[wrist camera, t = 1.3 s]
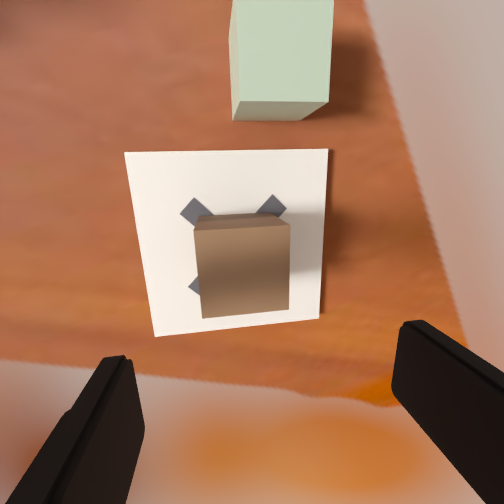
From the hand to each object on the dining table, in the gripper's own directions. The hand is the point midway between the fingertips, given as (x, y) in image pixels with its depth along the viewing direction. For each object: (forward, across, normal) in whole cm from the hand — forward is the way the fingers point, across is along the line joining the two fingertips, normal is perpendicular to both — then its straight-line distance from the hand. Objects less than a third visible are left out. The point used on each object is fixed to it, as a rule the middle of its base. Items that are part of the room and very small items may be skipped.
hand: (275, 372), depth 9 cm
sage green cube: (+15, -3, -14) cm, 21 cm away
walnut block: (+14, 0, -1) cm, 14 cm away
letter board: (+15, 0, -1) cm, 15 cm away
